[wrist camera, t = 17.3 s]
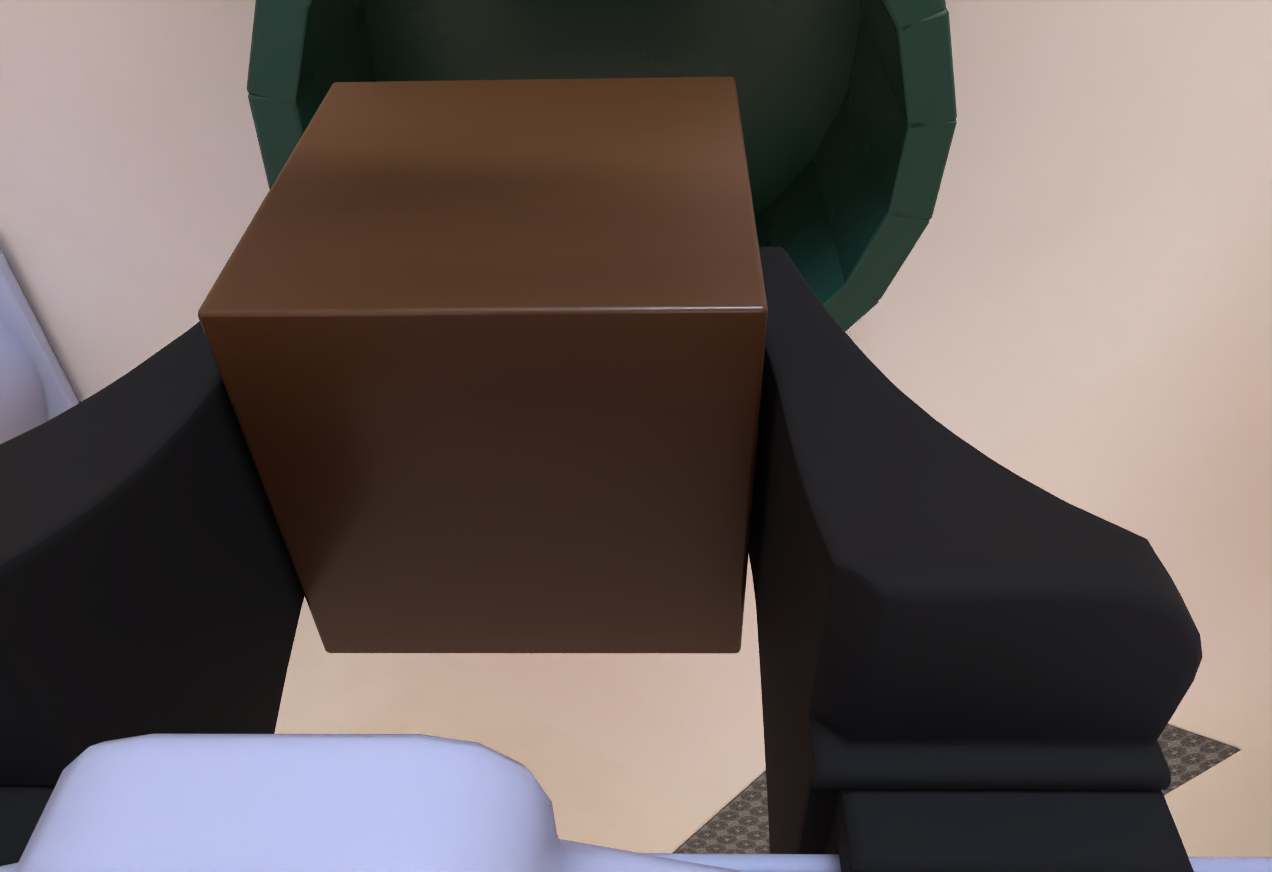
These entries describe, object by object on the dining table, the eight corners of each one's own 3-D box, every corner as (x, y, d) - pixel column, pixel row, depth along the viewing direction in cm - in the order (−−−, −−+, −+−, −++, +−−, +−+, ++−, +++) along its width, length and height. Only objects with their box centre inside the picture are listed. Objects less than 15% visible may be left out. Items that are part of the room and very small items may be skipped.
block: (721, 389, 16) (739, 655, 12) (403, 391, 16) (325, 654, 12) (735, 74, 12) (768, 307, 9) (332, 80, 12) (193, 313, 9)
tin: (921, 211, 23) (975, 351, 19) (462, 320, 26) (427, 464, 22) (852, -411, 16) (918, -392, 12) (217, -181, 18) (94, -101, 14)
